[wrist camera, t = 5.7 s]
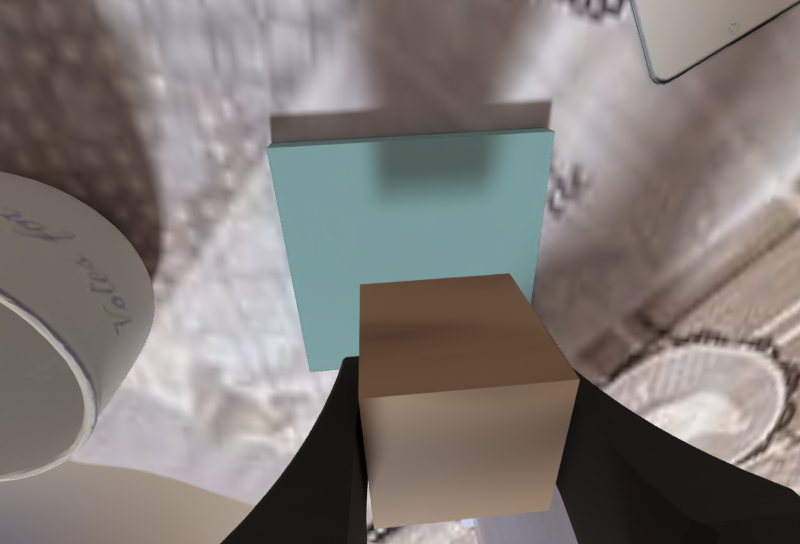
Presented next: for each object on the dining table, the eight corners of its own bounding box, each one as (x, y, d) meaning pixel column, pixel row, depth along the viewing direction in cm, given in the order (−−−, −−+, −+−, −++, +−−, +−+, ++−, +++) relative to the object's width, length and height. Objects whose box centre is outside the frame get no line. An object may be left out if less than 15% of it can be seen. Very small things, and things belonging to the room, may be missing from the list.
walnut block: (497, 384, 16) (549, 510, 12) (371, 395, 16) (374, 528, 11) (509, 273, 14) (579, 379, 9) (360, 284, 13) (358, 399, 9)
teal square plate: (518, 342, 24) (524, 353, 23) (311, 359, 23) (309, 372, 22) (545, 127, 18) (554, 131, 17) (271, 143, 17) (266, 148, 16)
